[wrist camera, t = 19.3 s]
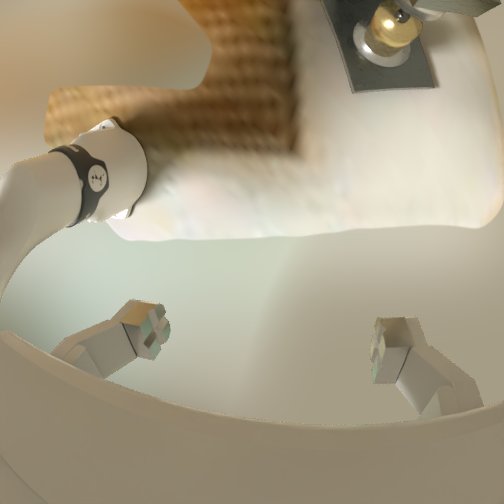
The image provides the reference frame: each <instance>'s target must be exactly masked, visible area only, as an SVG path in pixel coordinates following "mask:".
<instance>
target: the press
mask: <svg viewBox="0 0 504 504" xmlns="http://www.w3.org/2000/svg"><path fill="white" fill-rule="evenodd" d="M383 1H386V0H320V2H321V4H322V6H323V9H324V11H325V13H326V16H327V18H328V21H329V23H330V26H331V29H332V31H333V34H334V37H335V39H336V42H337V45H338V48H339V51H340V54H341V57H342V60H343V63H344V66H345V70H346V73H347V76H348V80H349V83H350V87H351V91H352V94H354V93H364V92H374V91H387V90H406V89H431V88H434V85H433V81H432V78H431V74H430V70H429V67H428V64H427V61H426V57H425V54H424V51H423V48H422V46H421V43H420V40H419V37H418V36H417V37H416V38H415V39H414V40H412V41H411V42H410V43H409V44H408V45H407V46H405V47H404V48H403V49H402V50H401V51H400V52H398V53H397V54H396V55H395V56H392V57H382V56H379V55H377V54H375V53H373V52H372V51H371V50H370V49H369V48H368V47H367V45H366V43H365V40H364V34H365V31H366V29H367V28H368V26H369V24H370V22H371V20H372V18H373V16H374V14H375V12H376V10H377V8H378V7H379V5H380V4H381V3H382V2H383ZM394 2H395V3H396V4H397V5H398V6H399V7H400V8H401V9H402V10H403V11H405V12H406V13H407V14H409V15H411V16H413V17H415V18H417V19H420V20H423V21H434V20H437V19H438V18H439V17H441V16H442V15H443V14H444V13H446V12H447V11H449V12H454V13H460V14H464V15H469V16H473V17H478V16H479V15H481V14H483V13H485V12H487V11H488V10H490V9H492V8H494V7H496V6H498V5H500V4H501V2H500V0H394Z"/></svg>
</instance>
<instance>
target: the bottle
mask: <svg viewBox="0 0 504 504" xmlns="http://www.w3.org/2000/svg"><path fill="white" fill-rule="evenodd" d="M422 27H423V25H422V21H421V20H420V19H417V18H415V17H413V16H411V15H409V14H407V13H406V12H405V11H403V10H402V9H401V8H400V7H399V6H398V5H397V4H396V3H395V2H394V0H386V1H383V2H382V3H381V4H380V5H379V7H378V8H377V10H376V12H375V14H374V16H373V18H372V20H371V22H370V24H369V26H368V28H367V29H366V31H365V34H364V40H365V43H366V45H367V47H368V48H369V49H370V50H371V51H372V52H373V53H375V54H377V55H379V56H382V57H392V56H395V55H396V54H397V53H398V52H400V51H401V50H402V49H403V48H404V47H405V46H407V45H408V44H409V43H410V42H411V41H412V40H414V39H415V38H416V37H417V36H418V35H419V34H420V33H421V31H422Z"/></svg>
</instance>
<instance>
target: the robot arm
mask: <svg viewBox="0 0 504 504" xmlns="http://www.w3.org/2000/svg"><path fill="white" fill-rule="evenodd" d="M104 127H105V129H104ZM146 180H147V161H146V157H145V154H144V151H143V149H142V147H141V145H140V143H139V142H138V141H137V139H136V138H135V137H134V136H133V135H131V134H130V133H128V132H126V131H125V130H123V129H121V128H120V127H119V125H118V124H117V123H116V121H115V120H114V119H112V118H110V119H106V120H104V121H103V122H101V123H100V124H98V125H97V126H95V127H94V128H92V129H91V130H89V131H88V132H84V133H81V134H80V135H79V137H77V138H76V139H74V140H73V141H72V142H71V143H70V144H69V145H63V146H59V147H57V148H55V149H52V150H51V151H49V152H48V153H47V154H43V155H40V156H36V157H33V158H29V159H27V160H23V161H20V162H17V163H15V164H13V165H12V166H11V167H9V168H8V169H7V170H6V171H5V173H4V174H3V175H2V177H1V178H0V302H1V298H2V296H3V293H4V290H5V288H6V286H7V284H8V282H9V280H10V278H11V277H12V275H13V274H14V272H15V270H16V269H17V267H18V266H19V265H20V263H21V262H22V261H23V259H24V258H25V257H26V256H27V255H28V254H29V252H30V251H31V250H32V249H34V248H35V247H36V246H37V245H38V244H40V243H41V242H43V241H44V240H46V239H47V238H49V237H50V236H52V235H53V234H55V233H57V232H58V231H60V230H61V229H63V228H65V227H72V226H74V225H78V224H80V223H82V222H83V221H85V220H88V221H89V222H94V221H95V223H98V222H101V221H103V220H105V219H108V218H110V217H111V218H116V219H126V218H128V216H129V215H130V212H131V208H132V205H133V204H134V203H135V202H136V200H137V199H138V198H139V197H140V195H141V194H142V192H143V190H144V187H145V184H146ZM165 313H166V311H165V308H164V306H163V305H162V304H160V303H154V302H148V301H141V300H134V299H132V300H129V301H128V302H127V303H126V304H125V305H124V306H123V307H122V308H121V309H120V310H119V311H118V312H117V313H116V314H115V316H114V317H113V318H112V319H111V320H106V321H103V322H101V323H99V324H96V325H94V326H92V327H90V328H87V329H85V330H83V331H80V332H78V333H76V334H73V335H71V336H69V337H66V338H64V340H63V341H62V342H61V343H60V344H59V345H58V346H57V347H56V348H55V349H54V350H53V351H52V352H51V353H50V354H48V353H46V352H44V351H43V350H41V349H39V348H37V347H35V346H34V345H32V344H30V343H28V342H27V341H25V340H23V339H22V338H20V337H18V336H17V335H15V334H14V333H12V332H10V331H7V330H6V331H1V332H0V504H504V401H501V402H498V403H494V404H491V405H487V406H484V405H483V402H482V399H481V397H480V393H479V390H478V387H477V385H476V382H475V380H474V379H473V378H472V377H470V376H469V375H468V374H466V373H465V372H464V371H463V370H461V369H460V368H459V367H458V366H456V365H455V364H454V363H453V362H452V361H450V360H449V359H448V358H447V357H445V356H444V355H443V354H441V353H440V352H439V351H438V350H436V349H435V348H434V347H432V346H428V344H427V341H426V338H425V336H424V333H423V330H422V328H421V325H420V323H419V320H418V318H417V317H416V316H405V317H384V318H382V317H381V318H380V317H378V318H377V320H376V322H375V332H376V333H375V334H374V335H373V336H372V339H371V345H370V360H371V361H372V362H373V363H374V364H373V367H372V375H373V384H393V383H396V384H395V385H396V386H397V387H398V388H399V390H400V391H401V392H402V393H403V395H404V396H405V397H406V398H407V400H408V401H409V402H410V403H411V405H412V406H413V407H414V409H415V410H416V411H417V412H418V414H419V415H420V416H419V418H418V419H417V420H413V421H404V422H395V423H381V424H362V425H321V424H319V425H318V424H301V423H287V422H277V421H267V420H259V419H252V418H245V417H239V416H232V415H227V414H222V413H217V412H212V411H207V410H202V409H198V408H194V407H190V406H186V405H182V404H178V403H174V402H171V401H167V400H163V399H160V398H157V397H153V396H150V395H147V394H144V393H141V392H138V391H135V390H131V389H129V388H126V387H123V386H121V385H118V384H115V383H113V382H110V381H107V380H105V378H107V377H108V376H110V375H111V374H113V373H114V372H116V371H118V370H119V369H121V368H122V367H124V366H125V365H127V364H128V363H130V362H131V361H133V360H134V359H136V358H137V357H141V358H145V359H149V360H154V359H155V358H156V356H157V355H158V353H159V352H160V350H161V347H160V345H162V344H164V343H165V342H166V341H167V340H168V338H169V335H170V324H169V321H168V320H167V319H166V318H165V316H164V315H165Z"/></svg>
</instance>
